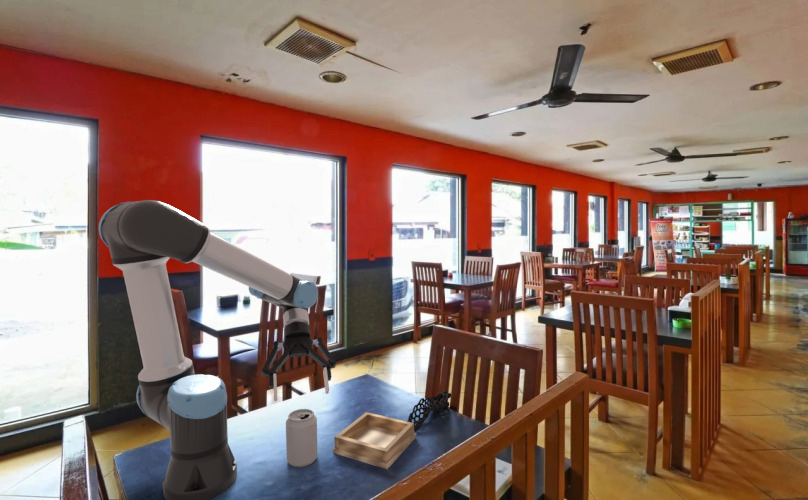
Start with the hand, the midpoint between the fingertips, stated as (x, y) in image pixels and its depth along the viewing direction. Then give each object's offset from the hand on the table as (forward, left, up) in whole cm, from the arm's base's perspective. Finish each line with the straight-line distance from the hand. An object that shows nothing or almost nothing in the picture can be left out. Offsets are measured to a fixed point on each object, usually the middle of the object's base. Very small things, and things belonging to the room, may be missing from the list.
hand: (302, 395), depth 109 cm
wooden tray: (+19, +7, -13) cm, 24 cm away
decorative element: (+25, +29, -13) cm, 41 cm away
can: (+6, -7, -13) cm, 16 cm away
